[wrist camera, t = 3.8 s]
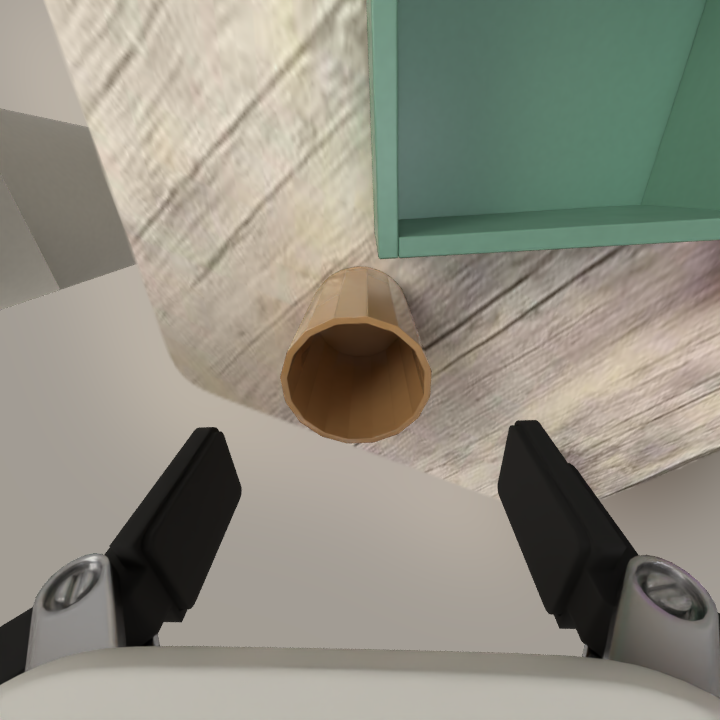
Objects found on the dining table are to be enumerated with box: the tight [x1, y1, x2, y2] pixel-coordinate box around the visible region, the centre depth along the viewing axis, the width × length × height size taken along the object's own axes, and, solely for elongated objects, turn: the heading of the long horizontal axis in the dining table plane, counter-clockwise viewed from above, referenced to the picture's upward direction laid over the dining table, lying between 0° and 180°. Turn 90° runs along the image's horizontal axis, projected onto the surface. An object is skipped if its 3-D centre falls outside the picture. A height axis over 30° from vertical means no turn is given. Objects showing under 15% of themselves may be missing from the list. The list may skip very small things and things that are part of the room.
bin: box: [366, 0, 720, 259], centre depth 12 cm, size 16×16×8 cm
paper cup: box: [280, 267, 432, 443], centre depth 18 cm, size 7×7×9 cm
